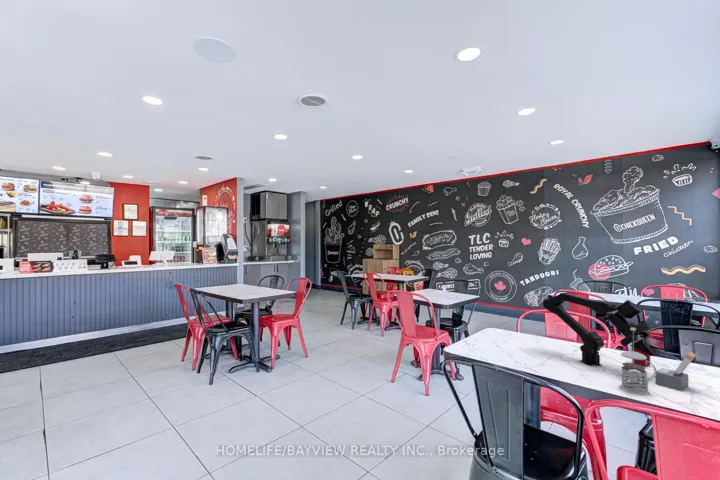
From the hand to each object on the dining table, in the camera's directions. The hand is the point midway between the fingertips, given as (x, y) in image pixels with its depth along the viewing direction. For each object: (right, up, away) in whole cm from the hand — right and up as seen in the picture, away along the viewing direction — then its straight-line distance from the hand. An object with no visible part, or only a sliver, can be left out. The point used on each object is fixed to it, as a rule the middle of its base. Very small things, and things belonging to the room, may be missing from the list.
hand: (653, 355), depth 139 cm
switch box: (+3, -11, -5) cm, 12 cm away
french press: (-16, -10, -11) cm, 22 cm away
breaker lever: (+4, -5, -7) cm, 9 cm away
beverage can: (+12, -12, +20) cm, 26 cm away
